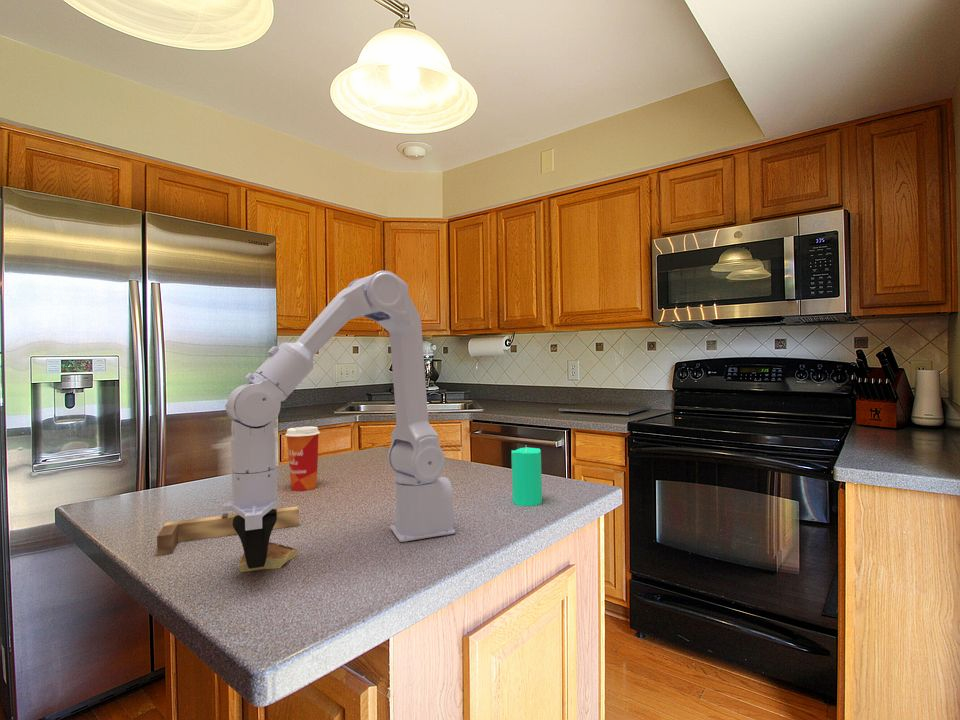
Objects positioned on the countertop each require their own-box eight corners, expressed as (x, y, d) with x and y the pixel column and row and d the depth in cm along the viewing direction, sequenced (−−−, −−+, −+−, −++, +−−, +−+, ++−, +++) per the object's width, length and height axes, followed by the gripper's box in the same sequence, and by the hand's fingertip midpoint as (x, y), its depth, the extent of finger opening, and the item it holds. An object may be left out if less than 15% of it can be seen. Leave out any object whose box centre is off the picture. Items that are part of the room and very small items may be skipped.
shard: (253, 547, 83) (252, 536, 83) (302, 543, 85) (302, 532, 85) (236, 575, 73) (236, 562, 73) (293, 569, 74) (293, 556, 74)
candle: (534, 496, 108) (533, 439, 108) (547, 504, 103) (545, 443, 103) (508, 499, 106) (506, 441, 106) (519, 507, 101) (517, 446, 101)
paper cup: (281, 488, 121) (279, 428, 121) (312, 482, 126) (311, 425, 126) (295, 494, 115) (293, 431, 115) (327, 487, 120) (325, 427, 120)
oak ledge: (298, 522, 95) (298, 504, 95) (300, 535, 88) (300, 515, 88) (166, 540, 87) (166, 520, 87) (157, 555, 80) (156, 534, 80)
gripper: (226, 463, 78) (228, 553, 78) (217, 483, 64) (220, 592, 64) (276, 458, 80) (279, 545, 80) (278, 477, 67) (280, 582, 67)
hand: (256, 566), depth 72 cm, fingers closed
